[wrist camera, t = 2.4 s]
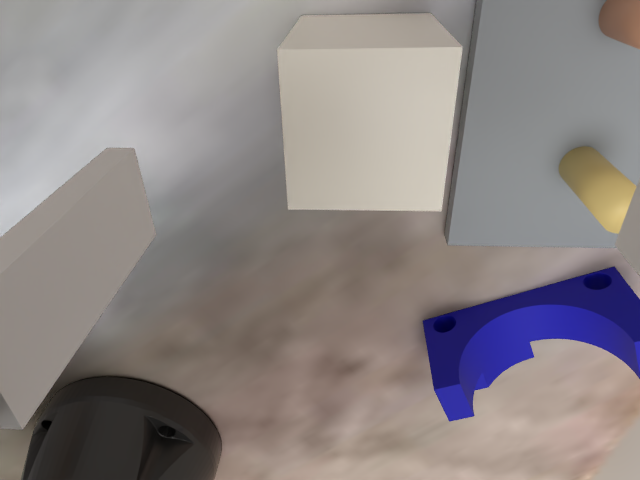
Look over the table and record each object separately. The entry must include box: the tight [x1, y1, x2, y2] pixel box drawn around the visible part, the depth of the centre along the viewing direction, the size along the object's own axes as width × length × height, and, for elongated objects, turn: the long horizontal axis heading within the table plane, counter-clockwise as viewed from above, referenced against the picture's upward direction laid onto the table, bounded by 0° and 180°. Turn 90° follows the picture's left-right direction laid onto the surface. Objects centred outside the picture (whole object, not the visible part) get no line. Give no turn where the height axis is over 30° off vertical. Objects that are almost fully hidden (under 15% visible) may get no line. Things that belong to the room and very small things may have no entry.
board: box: [445, 0, 640, 248], centre depth 21 cm, size 12×16×6 cm
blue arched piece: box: [423, 267, 640, 421], centre depth 29 cm, size 12×4×6 cm, turn 115°
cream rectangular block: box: [277, 13, 463, 211], centre depth 20 cm, size 6×6×8 cm
